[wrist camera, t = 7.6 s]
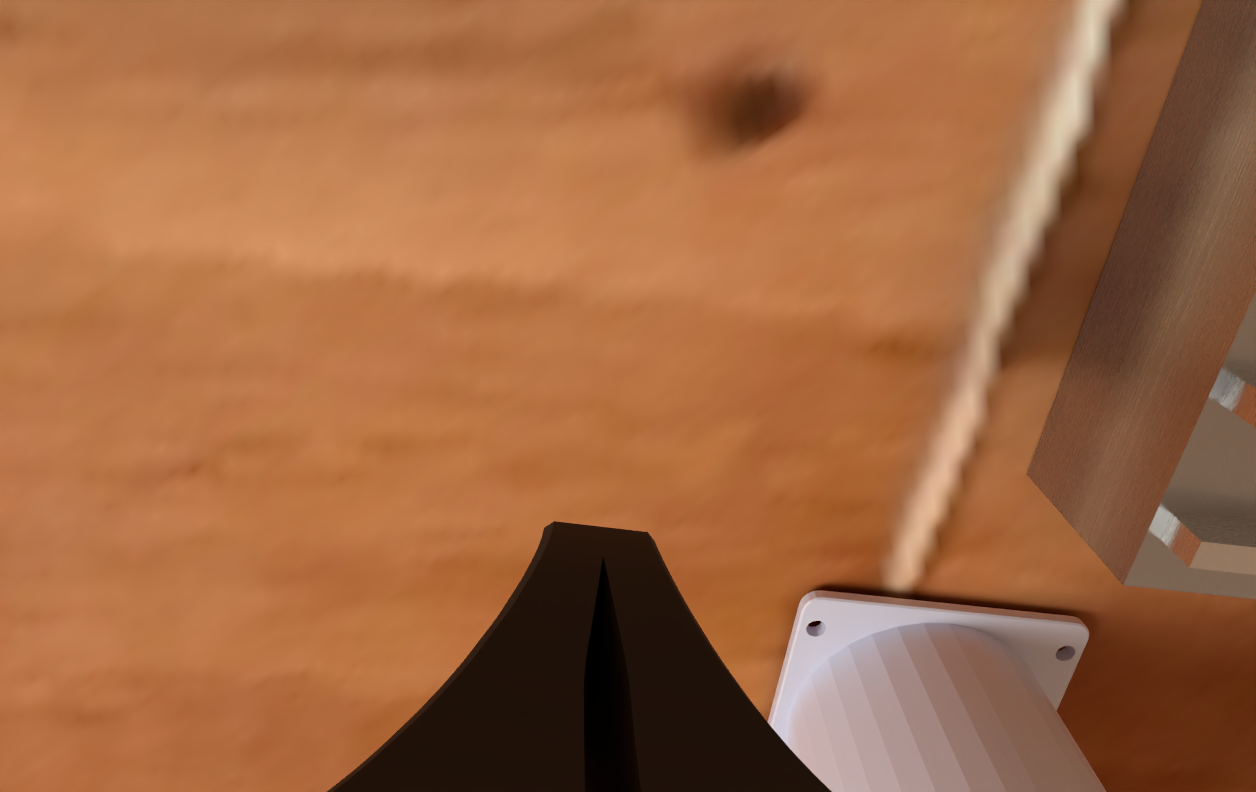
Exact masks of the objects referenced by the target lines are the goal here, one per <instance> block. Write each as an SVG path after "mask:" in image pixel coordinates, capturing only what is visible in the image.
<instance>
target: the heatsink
mask: <svg viewBox="0 0 1256 792" xmlns="http://www.w3.org/2000/svg"><path fill="white" fill-rule="evenodd" d="M1027 475H1028V476H1029V477H1030V478H1031V479H1032V481H1033V482H1034V483H1035V484H1036V485H1037V486H1038V488H1039V489H1040V490H1041V491H1042V492H1043V493H1044V494H1045V496H1046V497H1047V498H1048V499H1049V500H1050V501H1051V502H1052V504H1053V505H1054V506H1055V507H1056V508H1057V509H1058V511H1059V512H1060V513H1061V514H1062V515H1063V516H1064V517H1065V519H1066V520H1067V521H1068V522H1069V523H1070V524H1071V526H1072V527H1073V528H1074V529H1075V530H1076V531H1077V532H1078V534H1079V535H1080V536H1081V537H1082V538H1083V539H1084V541H1085V542H1086V543H1087V544H1088V545H1089V546H1090V547H1091V549H1092V550H1093V551H1094V552H1095V553H1096V554H1097V556H1098V557H1099V558H1100V559H1101V560H1102V561H1103V562H1104V564H1105V565H1106V566H1107V567H1108V568H1109V569H1110V570H1111V572H1112V573H1113V574H1114V575H1115V576H1116V577H1117V579H1118V580H1119V581H1120V582H1121V583H1122V584H1123V585H1126V586H1135V587H1145V588H1154V589H1163V590H1173V591H1182V592H1192V593H1201V594H1211V595H1220V596H1230V597H1239V598H1249V599H1256V0H1204V1H1203V3H1202V6H1201V9H1200V12H1199V14H1198V17H1197V20H1196V22H1195V25H1194V28H1193V30H1192V33H1191V36H1190V38H1189V41H1188V44H1187V46H1186V49H1185V52H1184V55H1183V57H1182V60H1181V63H1180V65H1179V68H1178V71H1177V73H1176V76H1175V79H1174V81H1173V84H1172V87H1171V90H1170V92H1169V95H1168V98H1167V100H1166V103H1165V106H1164V108H1163V111H1162V114H1161V116H1160V119H1159V122H1158V124H1157V127H1156V130H1155V133H1154V135H1153V138H1152V141H1151V143H1150V146H1149V149H1148V151H1147V154H1146V157H1145V159H1144V162H1143V165H1142V167H1141V170H1140V173H1139V176H1138V178H1137V181H1136V184H1135V186H1134V189H1133V192H1132V194H1131V197H1130V200H1129V202H1128V205H1127V208H1126V210H1125V213H1124V216H1123V219H1122V221H1121V224H1120V227H1119V229H1118V232H1117V235H1116V237H1115V240H1114V243H1113V245H1112V248H1111V251H1110V254H1109V256H1108V259H1107V262H1106V264H1105V267H1104V270H1103V272H1102V275H1101V278H1100V280H1099V283H1098V286H1097V288H1096V291H1095V294H1094V297H1093V299H1092V302H1091V305H1090V307H1089V310H1088V313H1087V315H1086V318H1085V321H1084V323H1083V326H1082V329H1081V331H1080V334H1079V337H1078V340H1077V342H1076V345H1075V348H1074V350H1073V353H1072V356H1071V358H1070V361H1069V364H1068V366H1067V369H1066V372H1065V374H1064V377H1063V380H1062V383H1061V385H1060V388H1059V391H1058V393H1057V396H1056V399H1055V401H1054V404H1053V407H1052V409H1051V412H1050V415H1049V418H1048V420H1047V423H1046V426H1045V428H1044V431H1043V434H1042V436H1041V439H1040V442H1039V444H1038V447H1037V450H1036V452H1035V455H1034V458H1033V461H1032V463H1031V466H1030V469H1029V471H1028V474H1027Z"/></svg>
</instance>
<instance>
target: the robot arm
mask: <svg viewBox="0 0 1256 792" xmlns="http://www.w3.org/2000/svg"><path fill="white" fill-rule="evenodd" d="M813 621H821V623H820V624H819V625H817V626H814V627H810V626H808V624H809V623H811V622H813ZM1088 639H1089V631H1088V628H1087V627H1086V626H1085V624H1084V623H1083V622H1082V621H1081V620H1080V619H1079V618H1077V617H1073V616H1067V615H1057V614H1047V613H1037V612H1028V611H1018V610H1008V609H998V608H989V607H979V606H969V605H959V604H950V603H940V602H930V601H920V600H911V599H901V598H891V597H881V596H872V595H862V594H852V593H842V592H833V591H823V590H819V591H813V592H810V593H808V594H806V595H805V596H804V597H803V598H802V599H801V601H800V603H799V607H798V610H797V614H796V618H795V622H794V625H793V629H792V633H791V637H790V640H789V644H788V648H787V652H786V655H785V659H784V663H783V667H782V670H781V674H780V678H779V682H778V685H777V689H776V693H775V697H774V700H773V704H772V708H771V712H770V715H769V719H768V722H767V721H766V720H765V719H764V717H763V716H762V715H761V714H760V712H759V711H758V710H757V709H756V707H755V706H754V705H753V703H752V702H751V701H750V699H749V698H748V697H747V695H746V694H745V693H744V691H743V690H742V689H741V687H740V686H739V684H738V683H737V682H736V680H735V679H734V677H733V676H732V675H731V673H730V672H729V670H728V669H727V668H726V666H725V665H724V663H723V662H722V660H721V659H720V657H719V656H718V654H717V653H716V651H715V650H714V648H713V647H712V645H711V644H710V642H709V640H708V639H707V637H706V636H705V634H704V632H703V631H702V629H701V627H700V626H699V624H698V623H697V621H696V619H695V618H694V616H693V614H692V613H691V611H690V609H689V608H688V606H687V604H686V602H685V601H684V599H683V597H682V595H681V594H680V592H679V590H678V588H677V586H676V584H675V582H674V581H673V579H672V577H671V575H670V573H669V571H668V569H667V567H666V565H665V563H664V561H663V559H662V557H661V555H660V553H659V550H658V548H657V546H656V544H655V541H654V540H653V539H652V537H651V536H650V535H649V533H648V532H641V531H632V530H624V529H615V528H606V527H598V526H589V525H580V524H572V523H563V522H555V521H554V522H553V523H551V524H550V525H548V526H546V527H545V528H544V531H543V536H542V539H541V541H540V544H539V546H538V549H537V551H536V553H535V555H534V557H533V559H532V561H531V563H530V565H529V567H528V569H527V571H526V572H525V574H524V576H523V578H522V580H521V581H520V583H519V584H518V586H517V587H516V589H515V591H514V592H513V594H512V595H511V597H510V598H509V600H508V601H507V603H506V605H505V606H504V608H503V609H502V611H501V612H500V614H499V615H498V617H497V618H496V619H495V621H494V622H493V624H492V625H491V626H490V627H489V629H488V630H487V631H486V633H485V634H484V635H483V637H482V638H481V639H480V641H479V642H478V643H477V644H476V646H475V647H474V648H473V650H472V651H471V652H470V654H469V655H468V656H467V658H466V659H465V660H464V661H463V662H462V664H461V665H460V666H459V667H458V668H457V669H456V671H455V672H454V673H453V674H452V675H451V676H450V678H449V679H448V680H447V681H446V682H445V683H444V684H443V685H442V687H441V688H440V689H439V690H438V691H437V692H436V693H435V694H434V695H433V696H432V697H431V698H430V699H429V700H428V701H427V703H426V704H425V705H424V706H423V707H422V708H421V709H420V710H419V711H418V712H417V713H416V714H415V715H414V716H413V717H412V718H411V719H410V720H409V721H408V722H407V723H405V724H404V725H403V726H402V727H401V728H400V729H399V730H398V731H397V732H396V733H395V734H394V735H393V736H392V737H391V738H390V739H389V740H388V741H387V742H386V743H385V744H383V745H382V746H381V747H380V748H379V749H378V750H377V751H376V752H375V753H374V754H372V755H371V756H370V757H369V758H368V759H367V760H366V761H364V762H363V763H362V764H361V765H360V766H359V767H357V768H356V769H355V770H354V771H353V772H351V773H350V774H349V775H348V776H346V777H345V778H344V779H343V780H341V781H340V782H339V783H337V784H336V785H335V786H334V787H332V788H331V789H330V790H329V791H327V792H1106V790H1105V788H1104V787H1103V785H1102V784H1101V782H1100V780H1099V779H1098V777H1097V776H1096V774H1095V772H1094V771H1093V769H1092V767H1091V766H1090V764H1089V763H1088V761H1087V759H1086V758H1085V756H1084V755H1083V753H1082V751H1081V750H1080V748H1079V747H1078V745H1077V743H1076V742H1075V740H1074V739H1073V737H1072V735H1071V734H1070V732H1069V730H1068V729H1067V727H1066V726H1065V724H1064V722H1063V721H1062V719H1061V718H1060V716H1059V714H1058V713H1057V709H1058V707H1059V705H1060V702H1061V700H1062V698H1063V696H1064V693H1065V691H1066V689H1067V687H1068V684H1069V682H1070V680H1071V678H1072V675H1073V673H1074V671H1075V669H1076V666H1077V664H1078V662H1079V660H1080V657H1081V655H1082V653H1083V651H1084V648H1085V646H1086V644H1087V642H1088ZM1063 646H1066V648H1065V649H1063V650H1061V651H1058V649H1060V648H1061V647H1063Z"/></svg>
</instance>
